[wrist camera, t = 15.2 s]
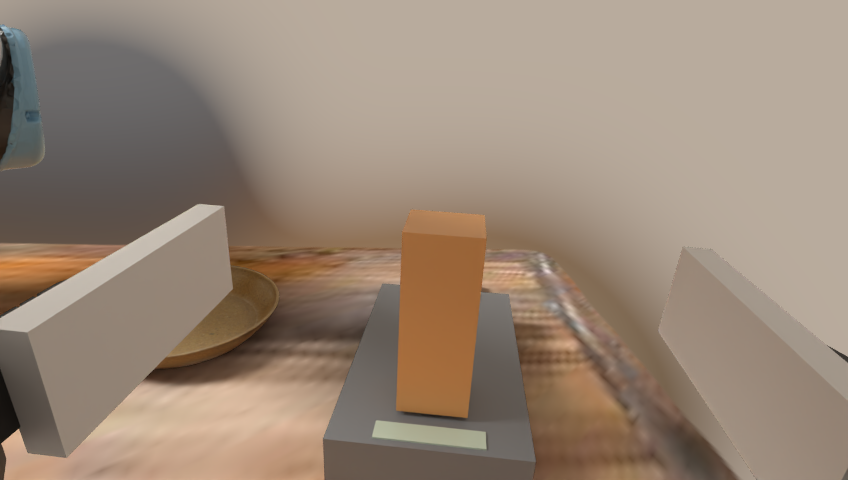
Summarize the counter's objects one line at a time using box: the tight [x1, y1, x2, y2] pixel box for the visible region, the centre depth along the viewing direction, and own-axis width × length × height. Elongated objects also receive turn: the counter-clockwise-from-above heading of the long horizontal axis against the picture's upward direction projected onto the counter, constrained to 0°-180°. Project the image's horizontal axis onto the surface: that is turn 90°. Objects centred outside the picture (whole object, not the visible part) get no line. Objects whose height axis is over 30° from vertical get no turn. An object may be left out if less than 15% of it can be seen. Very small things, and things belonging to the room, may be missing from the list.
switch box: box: [323, 284, 536, 480], centre depth 36 cm, size 25×11×3 cm, turn 175°
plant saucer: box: [155, 265, 279, 369], centre depth 38 cm, size 15×15×3 cm
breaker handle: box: [396, 210, 487, 418], centre depth 26 cm, size 4×4×11 cm
